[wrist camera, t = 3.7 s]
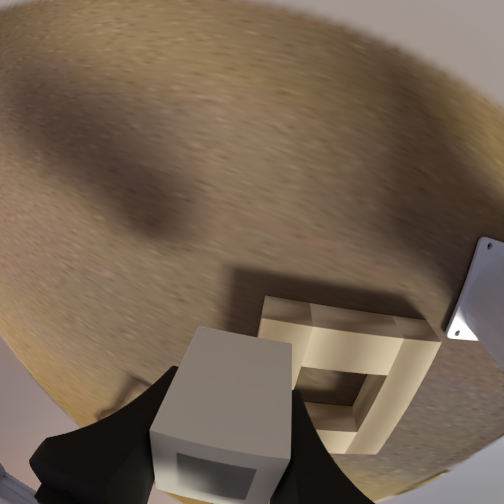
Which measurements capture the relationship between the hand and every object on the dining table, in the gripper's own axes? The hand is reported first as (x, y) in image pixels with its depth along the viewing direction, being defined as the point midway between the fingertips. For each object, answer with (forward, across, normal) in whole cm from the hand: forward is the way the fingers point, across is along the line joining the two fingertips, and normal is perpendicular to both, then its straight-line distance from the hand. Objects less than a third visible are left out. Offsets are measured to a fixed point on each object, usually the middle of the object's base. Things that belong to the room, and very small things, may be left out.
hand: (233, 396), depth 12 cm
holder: (+9, -7, +6) cm, 13 cm away
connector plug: (+2, 0, 0) cm, 2 cm away
